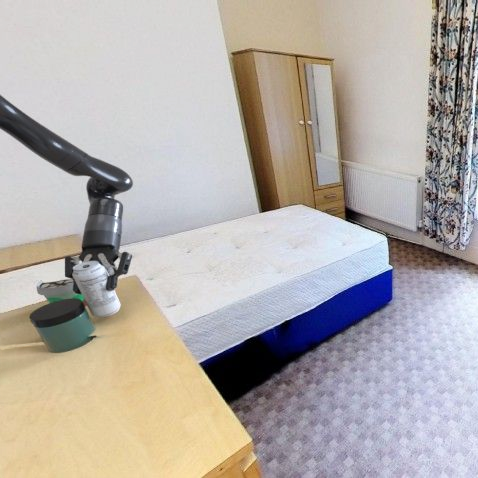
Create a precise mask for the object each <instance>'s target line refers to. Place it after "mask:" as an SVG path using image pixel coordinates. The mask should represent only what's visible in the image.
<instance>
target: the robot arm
mask: <svg viewBox="0 0 478 478" xmlns="http://www.w3.org/2000/svg"><path fill="white" fill-rule="evenodd" d="M0 130H1V131H3V132H4V133H6V134H8V135H9V136H10V137H11V138H13V139H15V140H16V141H17V142H18V143H20V144H21V145H23V146H24V147H25V148H27V149H28V150H29V151H30V152H32V153H33V154H35V155H36V156H38V157H40V158H41V159H43V160H44V161H46V162H47V163H48V164H51V165H52V166H55V167H56V168H58V169H60V170H61V171H63V172H65V173H66V174H69V175H71V176H74V177H89V178H88V180H87V182H86V194H87V199H88V202H89V208H88V214H87V218H86V221H85V224H84V231H83V235H82V241H81V252H80V254H79V255H77V256H69V255H68V256H65V257H64V277H65V278H67V279H74V277H73V275H72V274H73V271H74V270H73V267H74V266H76V265H78V264H80V262H81V263H83V262H88V261H98V262H99V264H101V265H102V266H104V267H105V270H106V272H107V274H108V276H107V284H106V290H109V291H114V290H115V289H117V287H118V280H119V277H120V276H122V275H127V274H128V272H129V269H130V266H131V262H132V259H133V255H132V254H131V253H130V252H128V251H123V252H120V251H119V250H120V249H121V241H122V234H123V216H124V215H123V214H124V205H123V203H122V202H121V201H119V200H118V199H116V198H115V197H116V195H119V194H122V193H126V192H128V191H130V190H131V189H132V187H134V186H133V185H134V181H133V179H132V177H131V176H130V174H128V172H126V171H125V170H123V169H122V168H120V167H119V166H116V165H114V164H111V163H109V162H107V161H105V160H102V159H100V158H97V157H94V156H92V155H90V154H88V153H87V152H86V151H84V150H83V149H81V148H80V147H78V146H76V145H75V144H73V143H71V142H70V141H68V140H67V139H65V138H63V137H62V136H60V135H59V134H57V133H56V132H53V131H52V130H51V129H49V128H48V127H46V126H44V125H43V124H41V123H40V122H38V121H37V120H35V119H34V118H32V117H31V116H29V115H28V114H26V113H25V112H24V111H22V110H21V109H20V108H18V107H17V106H16V105H14V104H13V103H11V102H10V101H9V100H8V99H6V98H5V97H4V96H3V95H2V94H0ZM118 259H119V262H118V266H117V265H116V263H115V262H117V260H118ZM73 291H74V292H75V293H76V294H81V292H80V290H79V288H78V285H77V283H76V281H75V279H74V284H73Z"/></svg>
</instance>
